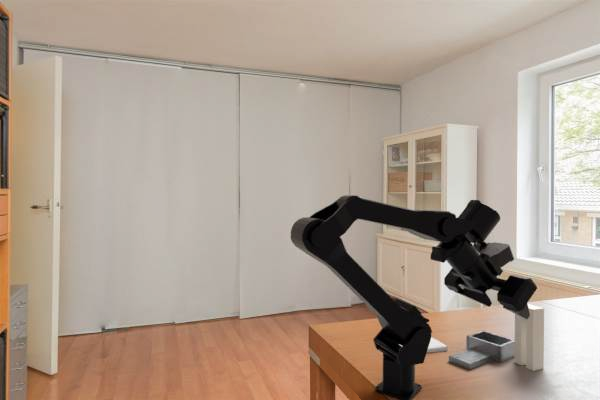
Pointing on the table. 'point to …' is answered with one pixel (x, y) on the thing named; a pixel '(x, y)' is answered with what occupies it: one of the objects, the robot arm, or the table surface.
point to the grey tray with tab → (484, 350)
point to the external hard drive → (435, 346)
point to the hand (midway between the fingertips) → (508, 310)
